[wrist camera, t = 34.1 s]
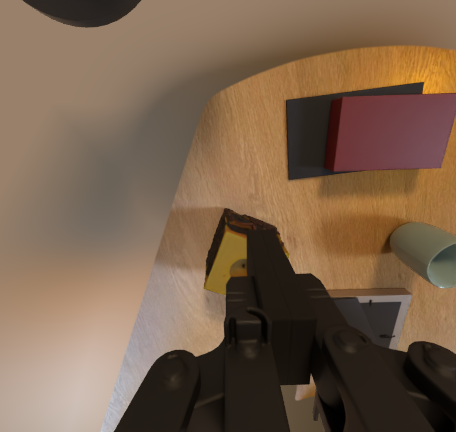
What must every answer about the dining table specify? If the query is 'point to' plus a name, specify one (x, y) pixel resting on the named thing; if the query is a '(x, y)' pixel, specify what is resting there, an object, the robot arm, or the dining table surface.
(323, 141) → the mat
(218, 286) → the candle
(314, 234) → the dining table surface
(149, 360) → the dining table surface
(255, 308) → the robot arm
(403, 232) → the cup
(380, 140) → the book
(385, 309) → the picture frame
